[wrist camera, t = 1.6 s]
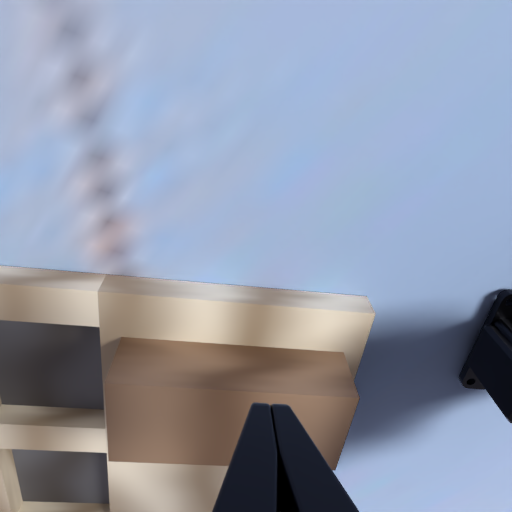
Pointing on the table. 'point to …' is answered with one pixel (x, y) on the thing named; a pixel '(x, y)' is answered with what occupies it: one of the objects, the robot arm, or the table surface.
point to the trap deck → (97, 367)
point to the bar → (219, 398)
